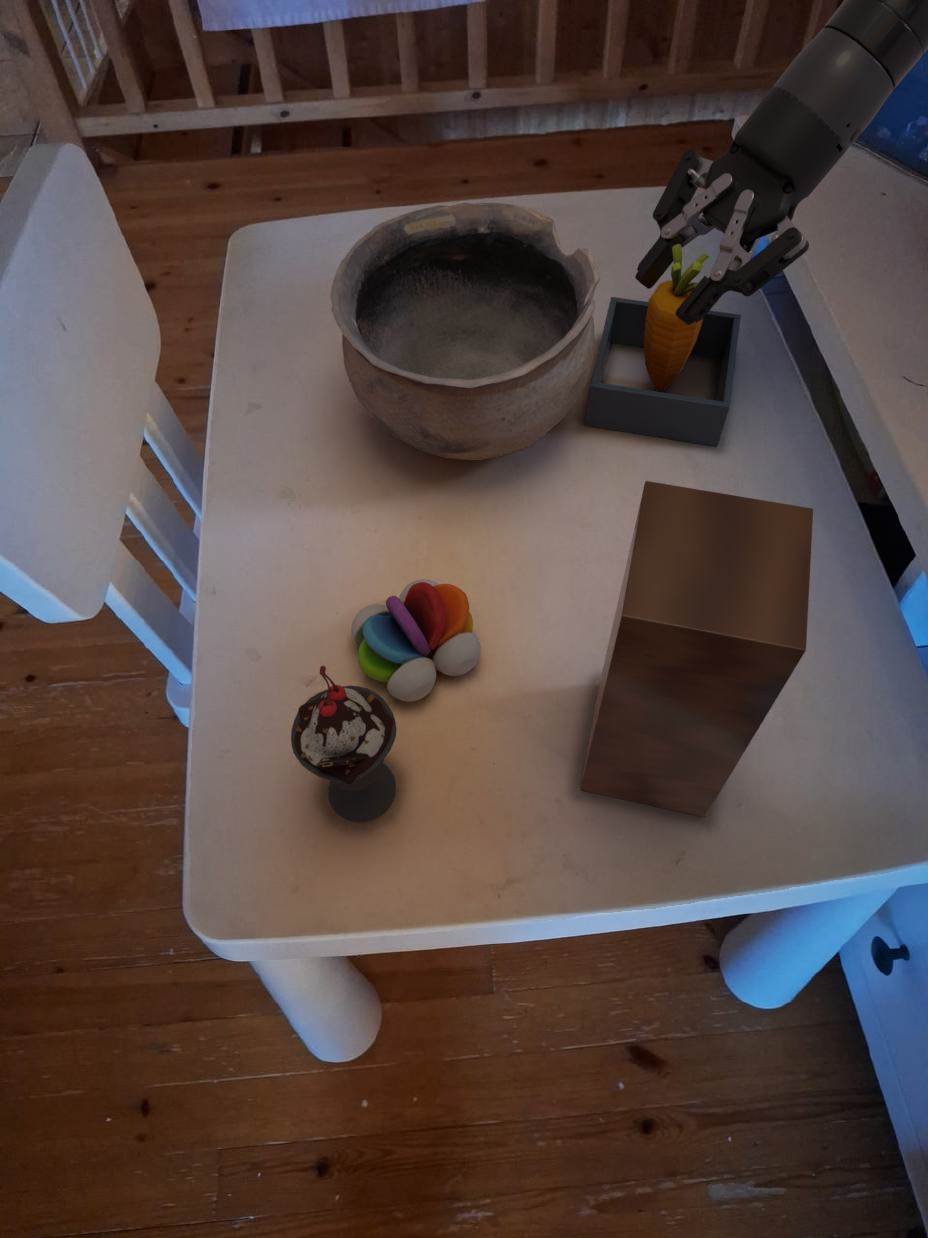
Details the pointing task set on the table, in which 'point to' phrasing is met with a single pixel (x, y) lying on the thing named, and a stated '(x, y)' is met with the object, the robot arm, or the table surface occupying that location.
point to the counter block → (697, 644)
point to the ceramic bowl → (466, 327)
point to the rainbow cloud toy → (416, 638)
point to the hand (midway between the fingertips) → (662, 300)
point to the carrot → (670, 324)
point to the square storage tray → (661, 409)
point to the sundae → (348, 748)
